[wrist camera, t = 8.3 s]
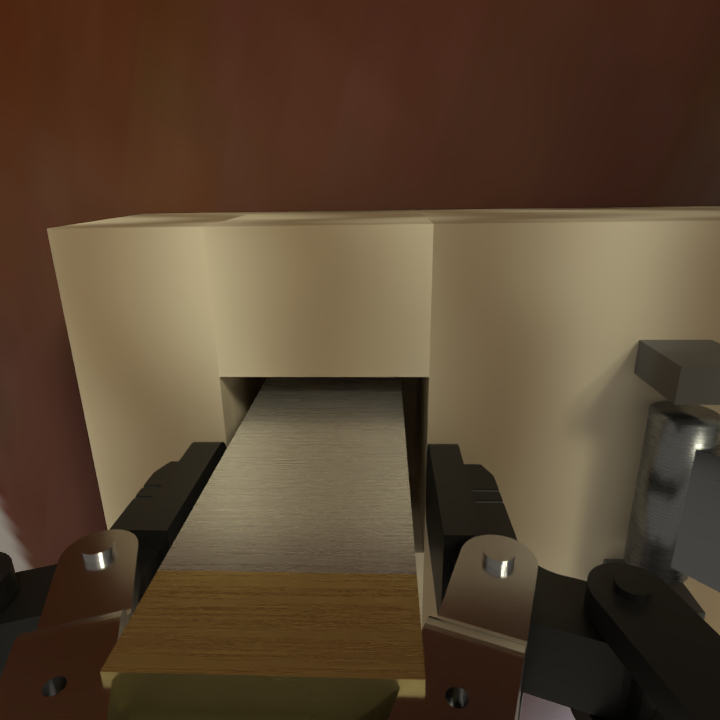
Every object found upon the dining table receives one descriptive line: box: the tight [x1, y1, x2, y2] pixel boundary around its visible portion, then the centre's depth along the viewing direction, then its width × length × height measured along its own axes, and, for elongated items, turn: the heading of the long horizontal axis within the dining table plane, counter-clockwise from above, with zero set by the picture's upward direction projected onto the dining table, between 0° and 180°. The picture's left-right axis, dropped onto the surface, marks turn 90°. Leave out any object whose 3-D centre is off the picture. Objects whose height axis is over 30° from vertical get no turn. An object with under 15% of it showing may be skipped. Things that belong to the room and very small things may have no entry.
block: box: [47, 206, 720, 635], centre depth 15 cm, size 24×12×7 cm, turn 91°
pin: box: [100, 377, 426, 720], centre depth 12 cm, size 4×4×12 cm
